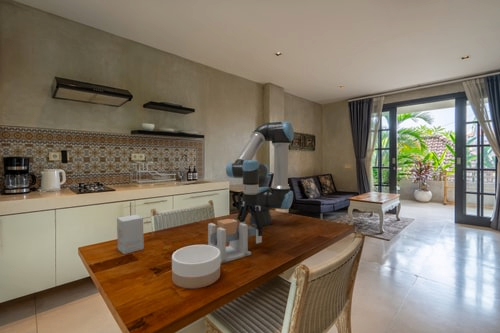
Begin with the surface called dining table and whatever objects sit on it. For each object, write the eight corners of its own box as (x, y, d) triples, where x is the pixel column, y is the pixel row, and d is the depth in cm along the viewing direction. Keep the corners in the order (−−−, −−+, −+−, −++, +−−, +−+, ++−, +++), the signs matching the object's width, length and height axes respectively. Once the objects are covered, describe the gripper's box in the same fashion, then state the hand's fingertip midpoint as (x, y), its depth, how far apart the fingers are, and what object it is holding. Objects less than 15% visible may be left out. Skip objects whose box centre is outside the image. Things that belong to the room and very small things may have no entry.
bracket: (236, 246, 114) (236, 218, 114) (251, 254, 105) (251, 224, 104) (204, 254, 104) (203, 224, 104) (217, 264, 95) (217, 231, 94)
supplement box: (137, 244, 117) (136, 214, 116) (144, 249, 110) (143, 217, 110) (117, 249, 110) (116, 217, 110) (123, 254, 104) (122, 221, 103)
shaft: (254, 232, 116) (254, 223, 116) (260, 235, 112) (260, 225, 112) (209, 243, 102) (209, 233, 101) (214, 246, 98) (214, 235, 98)
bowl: (174, 293, 75) (174, 267, 75) (169, 269, 91) (169, 248, 90) (226, 282, 82) (226, 258, 82) (213, 261, 98) (213, 241, 97)
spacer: (229, 229, 108) (229, 218, 108) (236, 232, 103) (236, 221, 103) (217, 231, 104) (217, 220, 104) (224, 235, 100) (224, 223, 99)
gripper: (230, 190, 118) (230, 233, 119) (260, 197, 99) (260, 248, 100) (242, 189, 123) (242, 230, 124) (274, 195, 103) (273, 244, 104)
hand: (250, 238), depth 112 cm, fingers open, 12 cm apart
